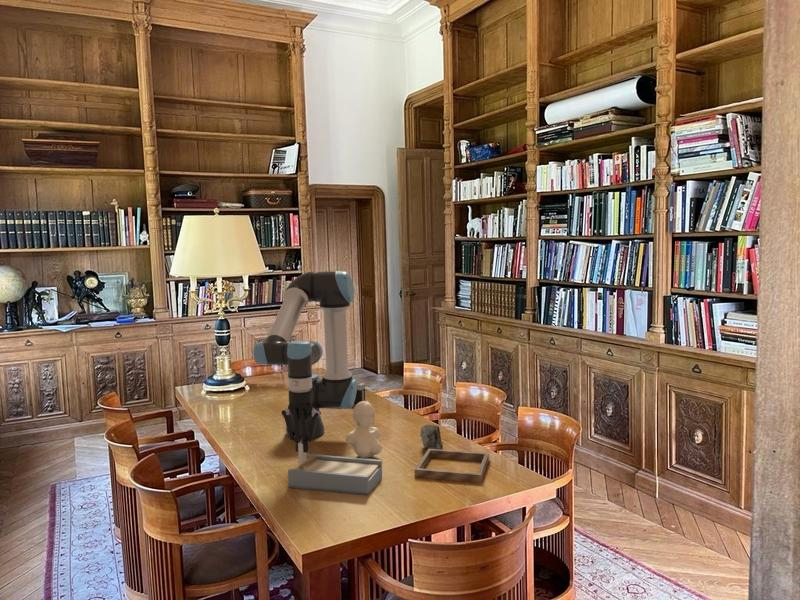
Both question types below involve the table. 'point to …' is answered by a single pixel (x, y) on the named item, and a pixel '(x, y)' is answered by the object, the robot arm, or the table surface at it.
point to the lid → (338, 467)
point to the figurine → (364, 431)
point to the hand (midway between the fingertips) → (302, 461)
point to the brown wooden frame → (452, 474)
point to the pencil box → (335, 477)
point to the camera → (360, 393)
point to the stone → (431, 437)
